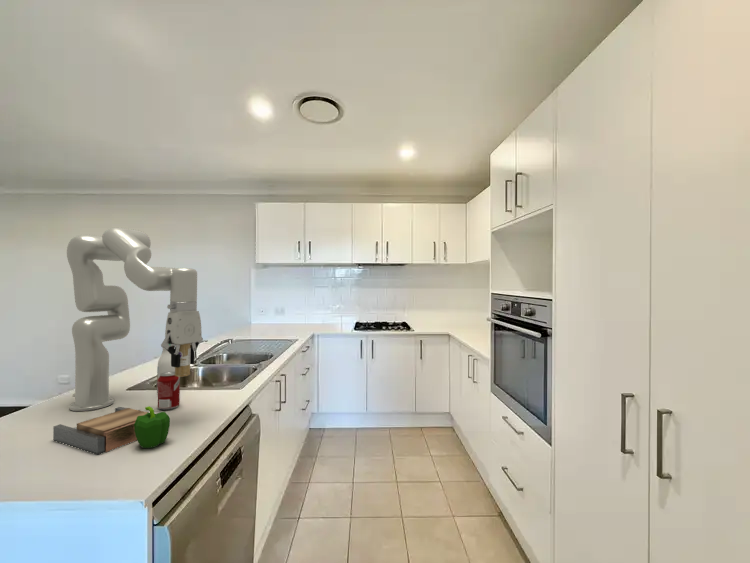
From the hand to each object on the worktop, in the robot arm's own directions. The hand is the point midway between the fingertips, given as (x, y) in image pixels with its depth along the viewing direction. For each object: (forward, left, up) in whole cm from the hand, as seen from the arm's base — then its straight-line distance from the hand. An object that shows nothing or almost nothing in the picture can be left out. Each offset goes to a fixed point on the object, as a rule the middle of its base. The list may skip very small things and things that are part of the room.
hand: (182, 364), depth 118 cm
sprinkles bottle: (0, 0, -4) cm, 4 cm away
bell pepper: (+7, -15, -18) cm, 24 cm away
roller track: (-10, -16, -18) cm, 26 cm away
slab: (-7, -16, -15) cm, 23 cm away
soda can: (-16, +7, -18) cm, 25 cm away
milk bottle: (-32, +19, -18) cm, 41 cm away
